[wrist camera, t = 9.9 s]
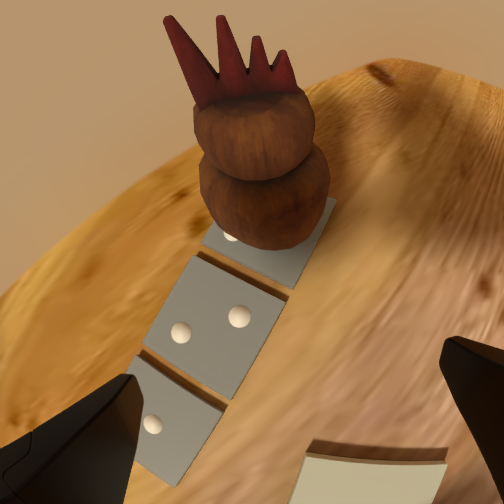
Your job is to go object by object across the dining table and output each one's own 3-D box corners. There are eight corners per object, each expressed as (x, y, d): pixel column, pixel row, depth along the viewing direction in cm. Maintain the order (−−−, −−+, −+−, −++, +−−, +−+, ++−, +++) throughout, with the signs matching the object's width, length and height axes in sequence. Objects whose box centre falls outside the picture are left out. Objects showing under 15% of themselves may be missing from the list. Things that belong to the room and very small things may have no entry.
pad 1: (336, 203, 21) (337, 199, 20) (293, 290, 19) (293, 288, 18) (251, 168, 23) (250, 165, 22) (202, 244, 21) (200, 242, 20)
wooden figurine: (211, 249, 20) (85, 64, 6) (237, 178, 22) (173, -14, 8) (312, 273, 19) (341, 55, 5) (328, 195, 20) (350, -17, 6)
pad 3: (224, 411, 17) (222, 413, 16) (176, 485, 15) (174, 487, 15) (138, 355, 19) (135, 354, 18) (101, 427, 17) (96, 428, 17)
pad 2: (285, 303, 19) (285, 302, 18) (232, 399, 17) (230, 400, 17) (195, 257, 21) (192, 254, 20) (145, 343, 19) (141, 342, 19)
